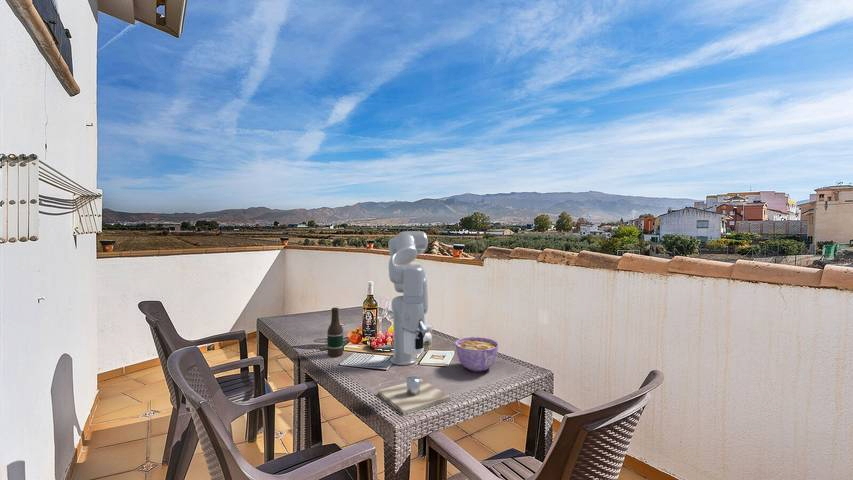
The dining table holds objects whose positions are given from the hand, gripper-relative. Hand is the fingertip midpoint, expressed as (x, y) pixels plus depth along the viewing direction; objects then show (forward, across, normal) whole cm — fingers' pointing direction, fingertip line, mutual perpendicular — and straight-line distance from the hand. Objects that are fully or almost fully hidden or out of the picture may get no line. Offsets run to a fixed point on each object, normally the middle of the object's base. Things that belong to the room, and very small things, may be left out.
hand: (413, 345), depth 145 cm
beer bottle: (+20, -63, -7) cm, 66 cm away
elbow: (+2, 0, +2) cm, 3 cm away
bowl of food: (+20, -9, +40) cm, 46 cm away
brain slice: (+20, -60, +19) cm, 66 cm away
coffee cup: (+20, -48, +37) cm, 64 cm away
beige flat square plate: (+20, 0, 0) cm, 20 cm away
